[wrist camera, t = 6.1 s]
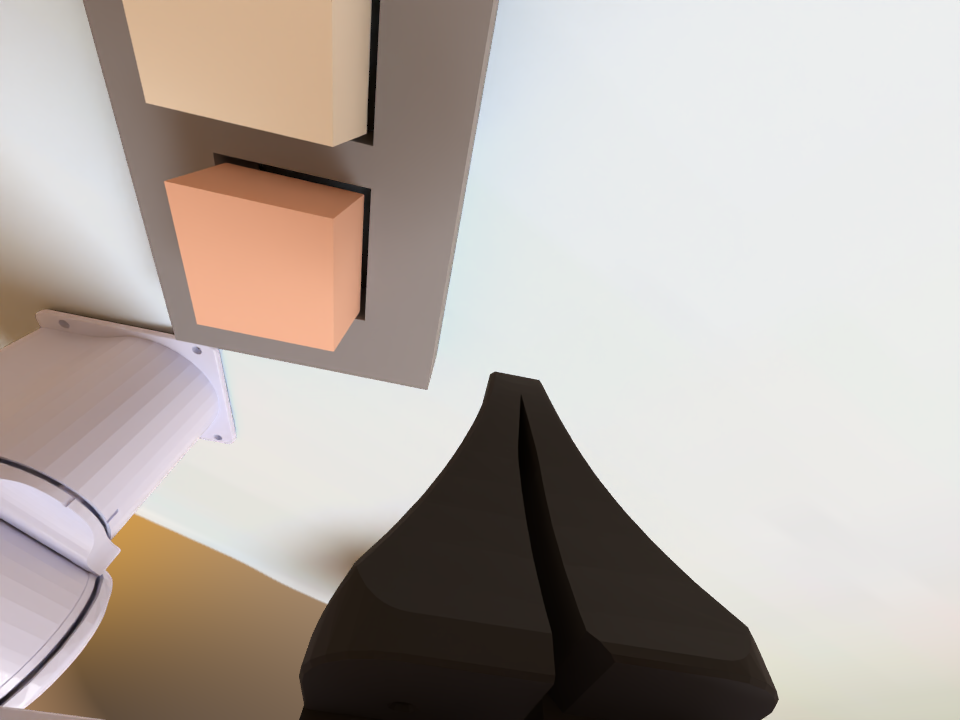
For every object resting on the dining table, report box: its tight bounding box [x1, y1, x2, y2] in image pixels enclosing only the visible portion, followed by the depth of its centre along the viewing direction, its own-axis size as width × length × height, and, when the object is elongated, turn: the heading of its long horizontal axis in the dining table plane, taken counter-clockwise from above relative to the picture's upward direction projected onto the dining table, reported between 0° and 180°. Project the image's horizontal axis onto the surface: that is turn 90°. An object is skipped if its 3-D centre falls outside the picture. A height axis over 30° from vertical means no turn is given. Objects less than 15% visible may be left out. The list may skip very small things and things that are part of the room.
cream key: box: [122, 0, 372, 147], centre depth 11 cm, size 5×5×3 cm
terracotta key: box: [164, 163, 364, 352], centre depth 15 cm, size 5×5×3 cm
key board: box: [83, 0, 499, 390], centre depth 13 cm, size 12×26×3 cm, turn 168°
